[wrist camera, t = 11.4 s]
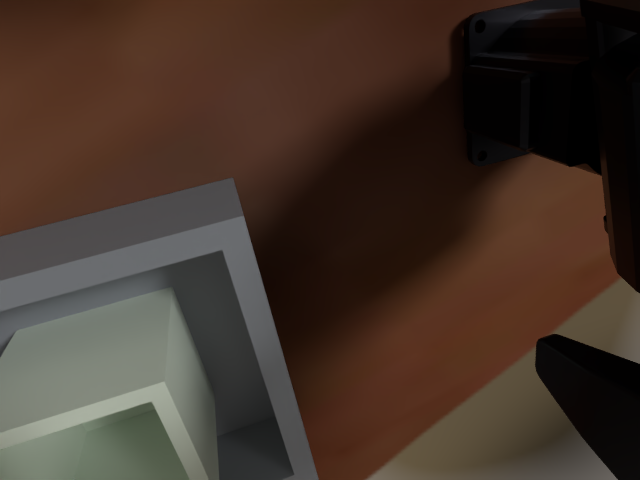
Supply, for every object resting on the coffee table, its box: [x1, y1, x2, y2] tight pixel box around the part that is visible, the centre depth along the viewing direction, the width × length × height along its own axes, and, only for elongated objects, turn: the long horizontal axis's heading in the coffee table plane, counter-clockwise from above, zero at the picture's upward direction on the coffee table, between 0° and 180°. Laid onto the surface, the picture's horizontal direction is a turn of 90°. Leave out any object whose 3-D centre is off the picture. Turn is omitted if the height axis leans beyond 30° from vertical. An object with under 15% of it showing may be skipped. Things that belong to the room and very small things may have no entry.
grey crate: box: [0, 178, 319, 480], centre depth 19 cm, size 14×14×4 cm
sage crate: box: [0, 287, 219, 480], centre depth 18 cm, size 6×6×6 cm
